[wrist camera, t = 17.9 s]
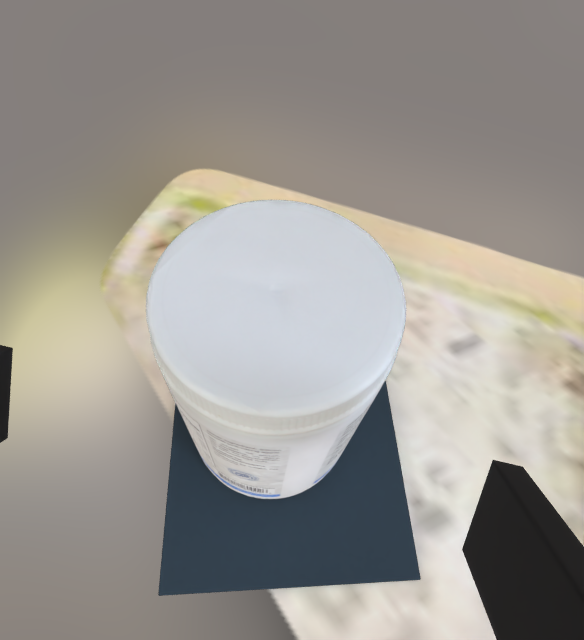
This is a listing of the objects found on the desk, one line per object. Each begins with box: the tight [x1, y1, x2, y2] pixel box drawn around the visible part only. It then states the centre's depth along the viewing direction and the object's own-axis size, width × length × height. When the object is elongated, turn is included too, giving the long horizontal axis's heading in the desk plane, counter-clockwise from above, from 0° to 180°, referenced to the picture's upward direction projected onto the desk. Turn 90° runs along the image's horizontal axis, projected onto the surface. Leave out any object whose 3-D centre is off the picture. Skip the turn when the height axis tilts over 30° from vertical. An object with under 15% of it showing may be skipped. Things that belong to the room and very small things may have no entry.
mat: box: [159, 381, 421, 596], centre depth 28 cm, size 14×17×1 cm
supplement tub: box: [146, 200, 406, 499], centre depth 22 cm, size 10×10×15 cm
